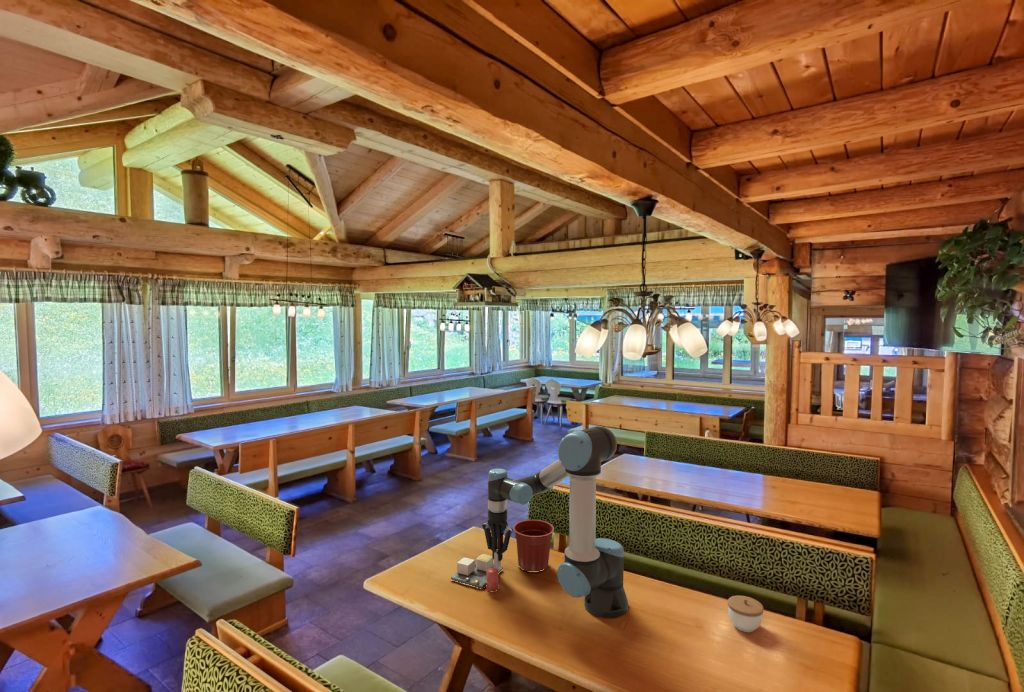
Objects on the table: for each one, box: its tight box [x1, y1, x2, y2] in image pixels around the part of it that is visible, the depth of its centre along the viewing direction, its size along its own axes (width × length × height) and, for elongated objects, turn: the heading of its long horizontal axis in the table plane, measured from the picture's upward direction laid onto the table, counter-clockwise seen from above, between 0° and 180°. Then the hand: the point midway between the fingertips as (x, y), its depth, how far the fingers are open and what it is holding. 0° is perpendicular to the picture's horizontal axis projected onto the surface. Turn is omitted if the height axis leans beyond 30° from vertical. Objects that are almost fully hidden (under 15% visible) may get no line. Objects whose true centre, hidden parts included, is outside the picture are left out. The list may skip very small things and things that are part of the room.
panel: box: [450, 559, 504, 589], centre depth 203 cm, size 14×16×2 cm
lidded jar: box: [727, 595, 765, 633], centre depth 170 cm, size 11×11×9 cm
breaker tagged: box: [475, 553, 494, 572], centre depth 206 cm, size 5×5×4 cm
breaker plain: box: [456, 556, 476, 575], centre depth 203 cm, size 5×5×4 cm
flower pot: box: [512, 519, 555, 572], centre depth 211 cm, size 16×16×16 cm
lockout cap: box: [486, 568, 499, 592], centre depth 193 cm, size 4×4×7 cm
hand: (497, 567), depth 203 cm, fingers closed
